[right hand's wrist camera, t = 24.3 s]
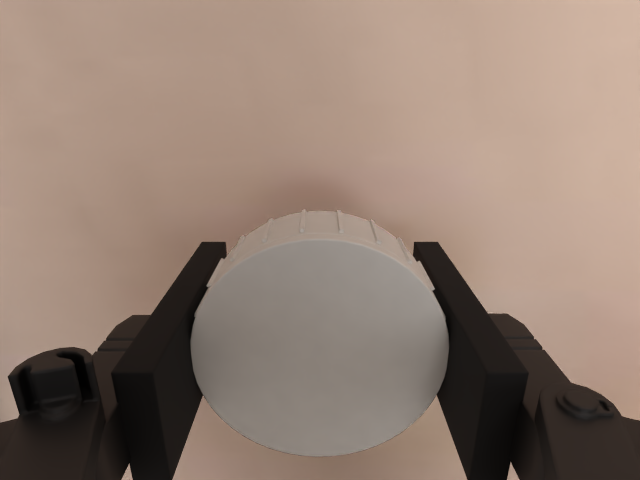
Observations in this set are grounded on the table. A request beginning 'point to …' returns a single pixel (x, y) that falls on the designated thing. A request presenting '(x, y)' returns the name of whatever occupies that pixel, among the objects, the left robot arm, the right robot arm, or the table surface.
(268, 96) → the table surface
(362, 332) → the lid
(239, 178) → the table surface
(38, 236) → the table surface
